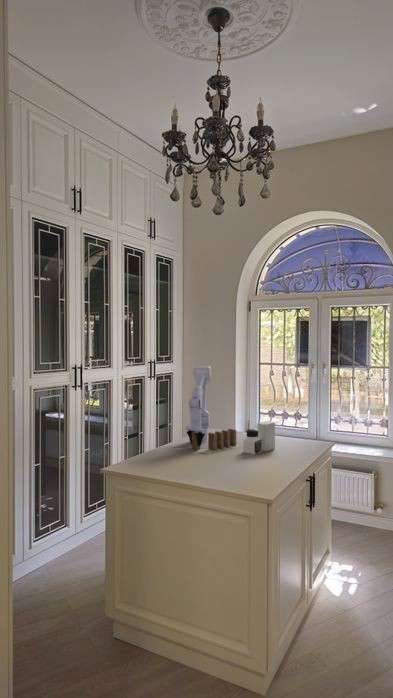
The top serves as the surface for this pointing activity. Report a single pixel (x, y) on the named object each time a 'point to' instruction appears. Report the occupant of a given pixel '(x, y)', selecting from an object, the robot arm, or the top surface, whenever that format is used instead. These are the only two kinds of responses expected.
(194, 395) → the robot arm
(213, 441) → the domino
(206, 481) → the top surface
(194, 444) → the end domino
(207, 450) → the domino mat
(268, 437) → the skincare box
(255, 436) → the medicine bottle
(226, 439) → the domino
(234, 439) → the domino
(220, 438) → the domino
